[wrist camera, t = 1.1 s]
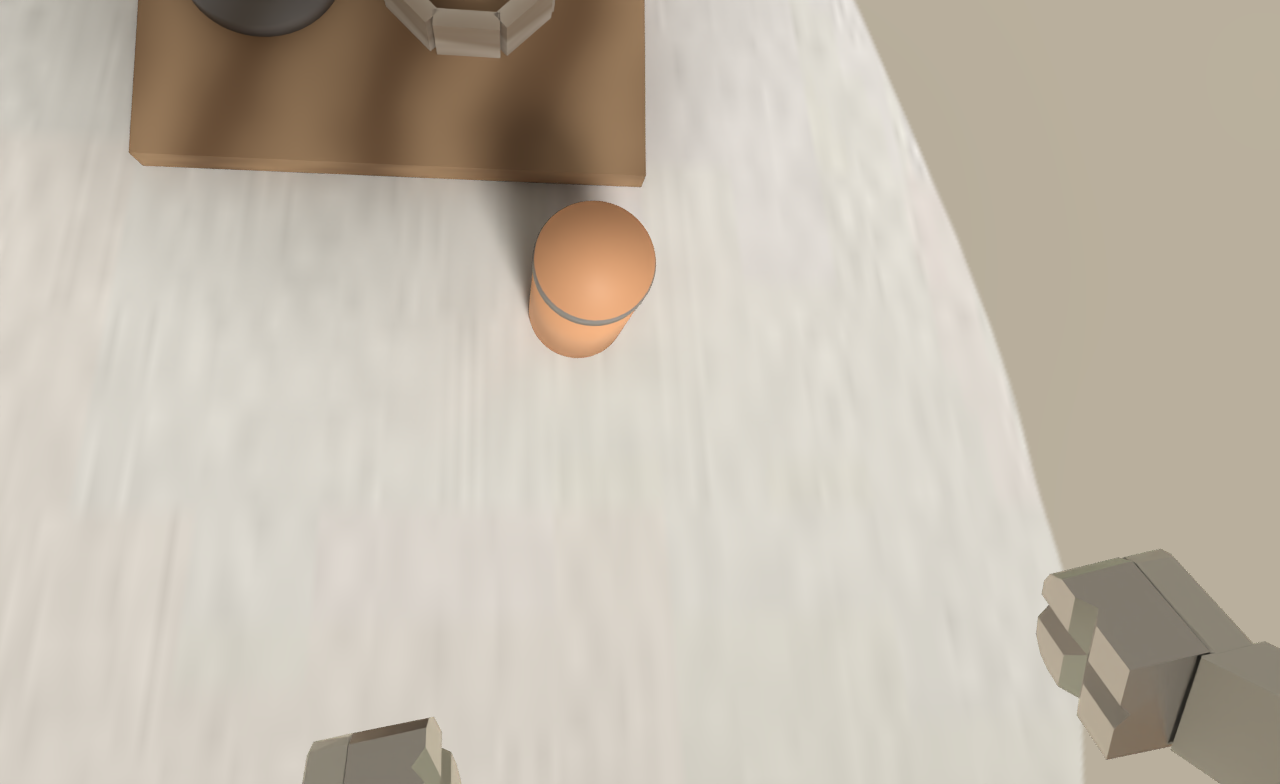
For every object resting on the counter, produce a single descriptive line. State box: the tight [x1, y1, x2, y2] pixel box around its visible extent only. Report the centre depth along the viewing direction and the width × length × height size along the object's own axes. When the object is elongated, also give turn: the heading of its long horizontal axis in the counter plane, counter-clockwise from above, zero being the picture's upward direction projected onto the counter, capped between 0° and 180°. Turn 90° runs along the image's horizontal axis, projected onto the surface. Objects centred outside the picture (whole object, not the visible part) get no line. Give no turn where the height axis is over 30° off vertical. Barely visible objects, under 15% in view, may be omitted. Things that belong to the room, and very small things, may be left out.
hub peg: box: [529, 201, 656, 358], centre depth 37 cm, size 4×4×9 cm
